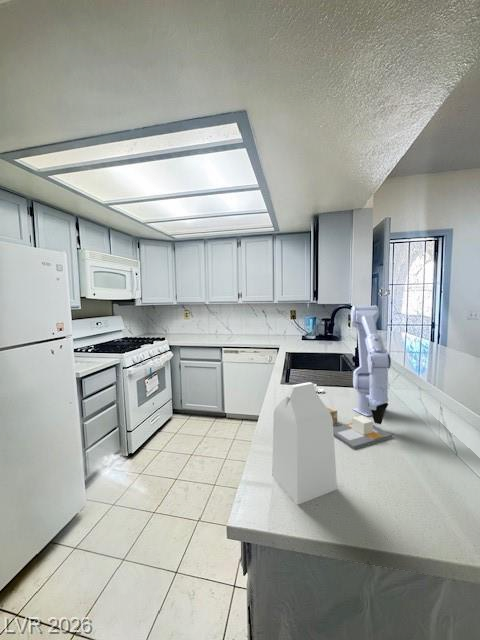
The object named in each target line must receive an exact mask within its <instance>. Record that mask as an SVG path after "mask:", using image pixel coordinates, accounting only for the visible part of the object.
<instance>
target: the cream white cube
mask: <svg viewBox="0 0 480 640" xmlns="http://www.w3.org/2000/svg"><path fill="white" fill-rule="evenodd" d="M373 423H374V420H371V419H369V418H367V417H366V416H364V415H363V416H362V415H358V416H354V417H352V429H354V430H356V431H357V432H359V433H361V434H363V435H366V434H369V433H373V425H374V424H373Z"/></svg>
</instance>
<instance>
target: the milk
mask: <svg viewBox="0 0 480 640" xmlns="http://www.w3.org/2000/svg"><path fill="white" fill-rule="evenodd" d="M314 384H315V383H314V382H311V381H309V382H302V383H297V384H296V383H295V384H292V385H290V387H289V390H288V392H287V395H286V397H285V398H284V399H282V401H280V403H278V404H277V406H275V408H274V411H273V429H272V432H273V433H272V463H271V464H272V466H271V476H272V477H273V479H274V480H275V481H276V482H277V483H278V484H279V486H280V487H281V488H282V489H283V491H284V492H286V494H287V495H288V496H289V497H290V499H291V500H292V501H293V502H294V503H295V504H296V505H297V506H299V505H301V504H304V503H305V502H308V501H312V500H314V499H316V498H318V497H321V496H323V495H326V494H328V493H331V492H333V491H336V490H338V481H337V465H336V454H335V453H336V451H335V437H334V433H333V428H334V424H333V420H332V416H331V414H330V412H329V410H328V409H327V406H326V405H325V403H324V402H323V400H322V399H321V398H320V396H319V394H318V393H317V391H316V390H315V387H314Z"/></svg>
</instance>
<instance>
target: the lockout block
mask: <svg viewBox="0 0 480 640" xmlns="http://www.w3.org/2000/svg"><path fill="white" fill-rule="evenodd" d="M326 407H327V406H326ZM327 409H328V410H329V412H330V414H331V416H332V420H333V425H336V424H338V410H337V409H335V408H334V407H331V406H328V407H327Z"/></svg>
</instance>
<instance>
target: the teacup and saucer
mask: <svg viewBox="0 0 480 640" xmlns="http://www.w3.org/2000/svg"><path fill="white" fill-rule="evenodd" d="M313 384H314V387H315V390H316V389H317V387H318V386H317V384H316V383H313ZM317 391H318V392H323V393H324V392H325V389H324V388H318V389H317ZM317 391H316V392H317ZM318 392H317V393H318Z"/></svg>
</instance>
